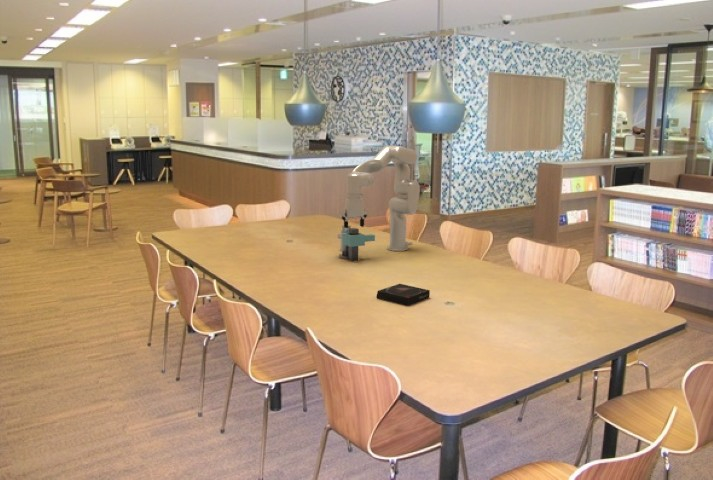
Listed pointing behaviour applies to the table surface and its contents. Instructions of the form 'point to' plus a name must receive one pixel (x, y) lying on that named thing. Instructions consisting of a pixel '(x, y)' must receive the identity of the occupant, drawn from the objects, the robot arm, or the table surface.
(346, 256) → the grey tall round-topped piece
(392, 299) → the portable cd player
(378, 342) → the table surface
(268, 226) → the table surface
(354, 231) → the steel wedge pin
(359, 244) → the teal square frame handle
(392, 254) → the table surface
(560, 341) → the table surface
